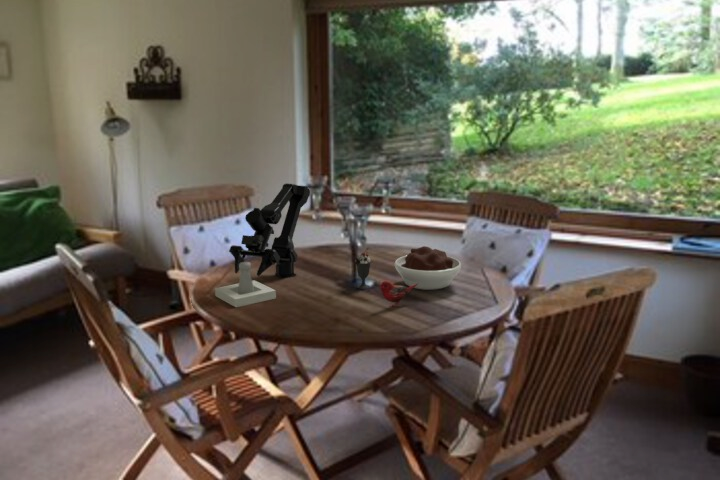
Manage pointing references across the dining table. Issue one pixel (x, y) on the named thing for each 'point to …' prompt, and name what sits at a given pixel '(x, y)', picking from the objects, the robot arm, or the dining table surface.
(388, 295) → the decorative bird figurine
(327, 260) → the dining table surface
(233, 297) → the grey block
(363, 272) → the sundae
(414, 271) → the bowl of chocolate pudding
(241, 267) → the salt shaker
